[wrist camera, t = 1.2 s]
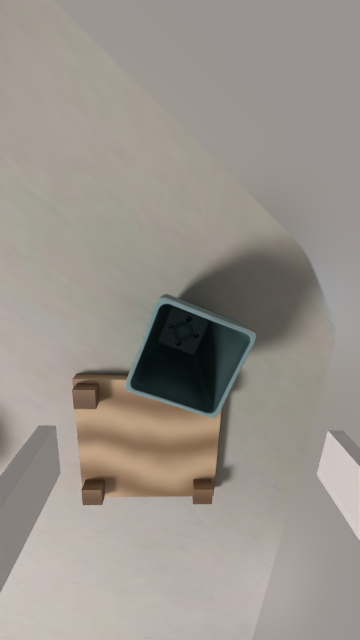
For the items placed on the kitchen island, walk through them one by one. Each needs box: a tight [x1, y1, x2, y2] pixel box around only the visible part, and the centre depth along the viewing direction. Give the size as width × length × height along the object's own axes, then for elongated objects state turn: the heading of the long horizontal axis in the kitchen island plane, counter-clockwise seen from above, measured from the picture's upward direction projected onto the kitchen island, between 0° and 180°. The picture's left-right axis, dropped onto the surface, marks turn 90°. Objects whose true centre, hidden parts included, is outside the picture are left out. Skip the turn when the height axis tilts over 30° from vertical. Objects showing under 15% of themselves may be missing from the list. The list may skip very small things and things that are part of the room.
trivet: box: [72, 374, 221, 505], centre depth 31 cm, size 18×18×3 cm
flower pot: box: [125, 294, 257, 418], centre depth 25 cm, size 9×9×9 cm
